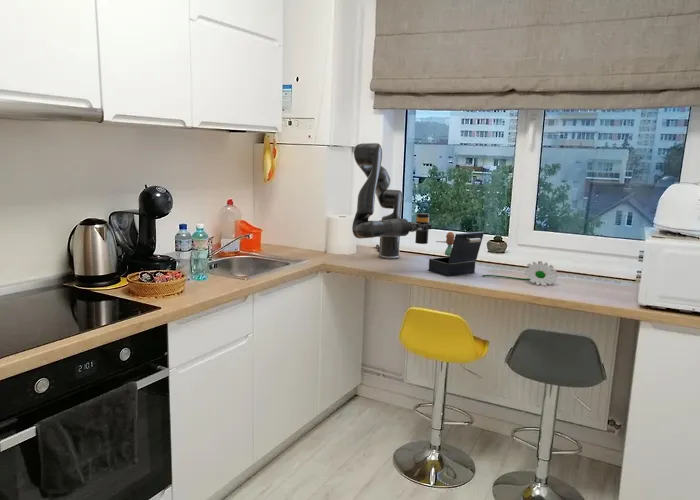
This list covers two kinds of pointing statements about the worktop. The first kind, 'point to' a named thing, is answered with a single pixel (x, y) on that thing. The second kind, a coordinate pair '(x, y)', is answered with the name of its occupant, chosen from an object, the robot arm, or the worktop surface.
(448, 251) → the toy
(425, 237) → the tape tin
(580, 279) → the worktop surface
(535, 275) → the flower
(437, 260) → the black box
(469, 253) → the lid
